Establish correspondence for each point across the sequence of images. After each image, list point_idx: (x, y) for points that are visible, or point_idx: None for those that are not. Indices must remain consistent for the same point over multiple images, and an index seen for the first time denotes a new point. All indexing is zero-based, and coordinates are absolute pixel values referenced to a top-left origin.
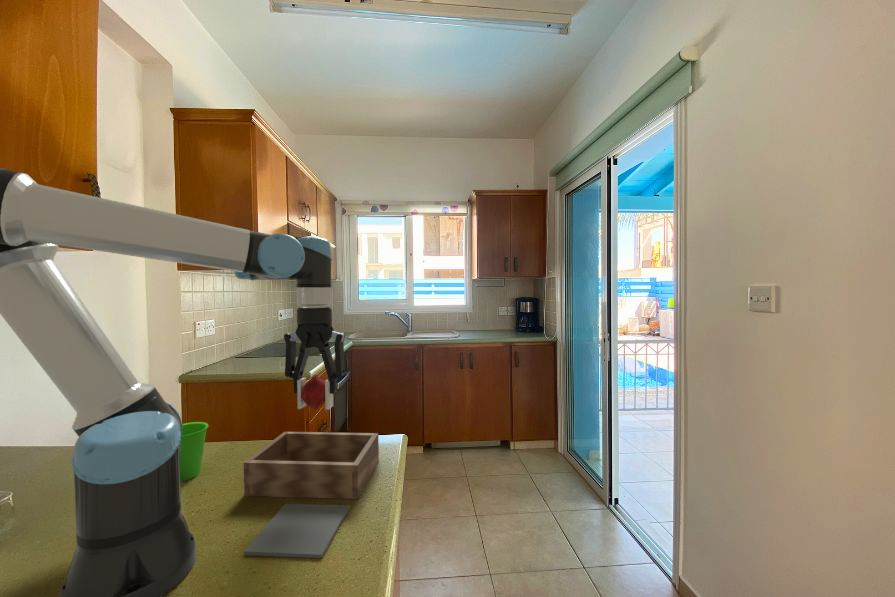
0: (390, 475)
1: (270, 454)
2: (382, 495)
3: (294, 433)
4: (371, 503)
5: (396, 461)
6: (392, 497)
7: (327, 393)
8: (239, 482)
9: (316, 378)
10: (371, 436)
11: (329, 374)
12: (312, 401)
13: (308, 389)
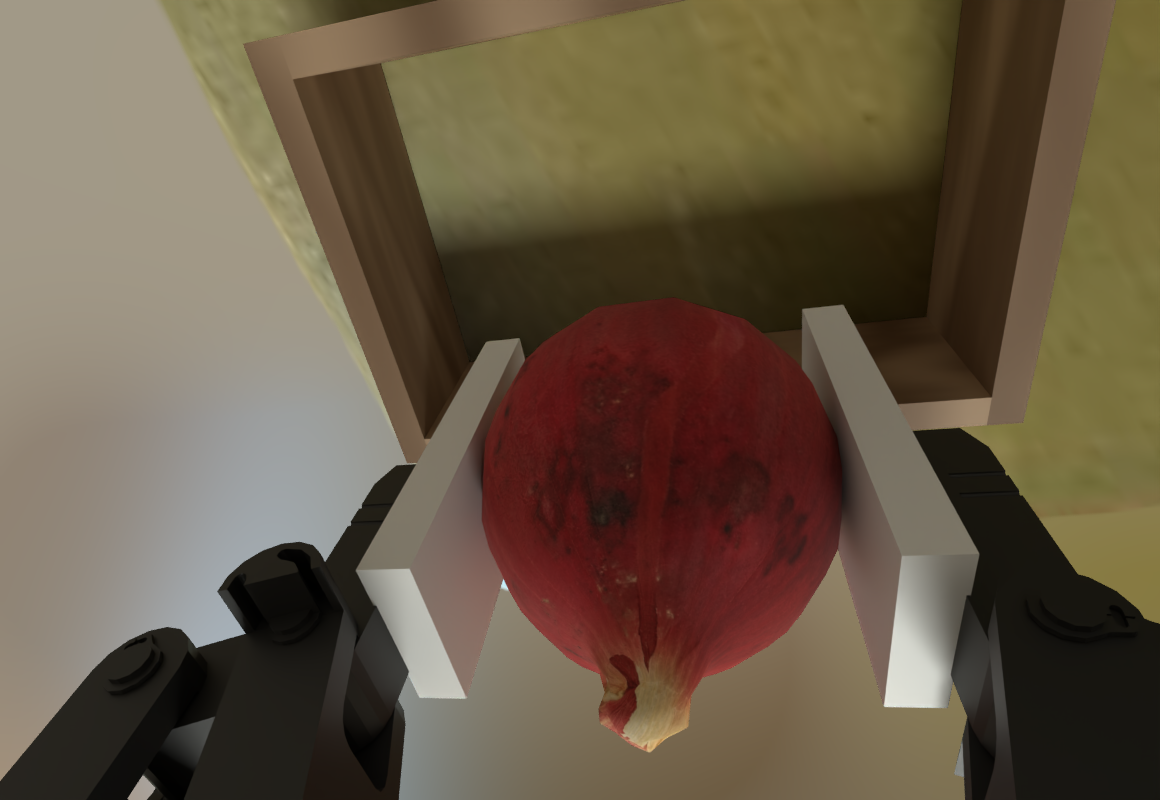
0: (332, 274)
1: (1001, 176)
2: (260, 98)
3: (931, 406)
4: (262, 14)
5: (378, 390)
6: (208, 92)
7: (443, 438)
8: (1128, 35)
9: (600, 629)
10: (418, 423)
11: (286, 674)
12: (608, 306)
13: (661, 390)
